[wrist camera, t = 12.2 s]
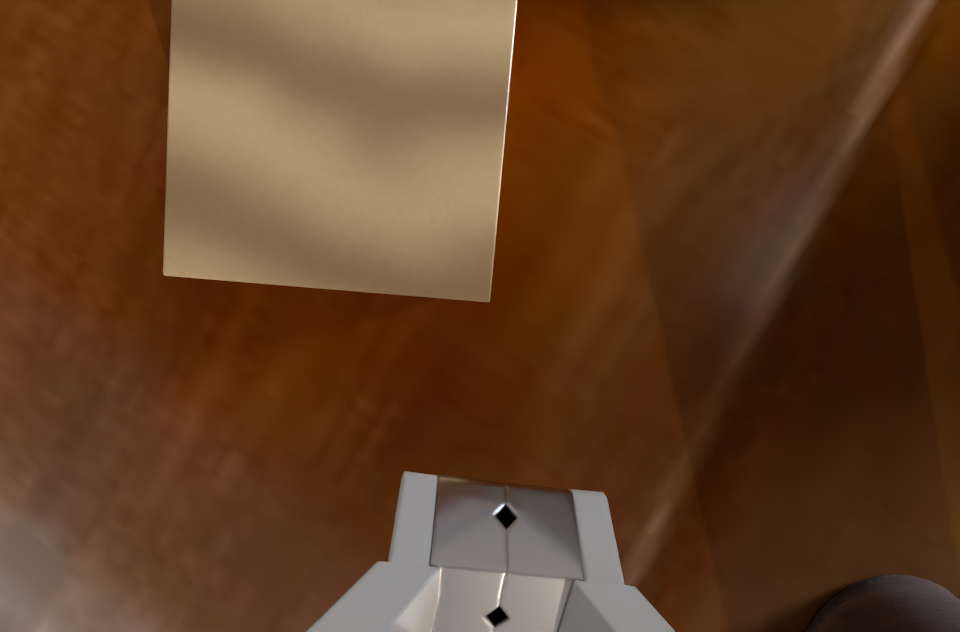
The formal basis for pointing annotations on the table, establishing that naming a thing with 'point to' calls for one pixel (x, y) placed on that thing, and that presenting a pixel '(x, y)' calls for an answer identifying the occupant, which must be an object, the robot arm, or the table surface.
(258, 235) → the lid
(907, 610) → the pitcher
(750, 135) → the table surface
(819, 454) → the table surface
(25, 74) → the table surface
